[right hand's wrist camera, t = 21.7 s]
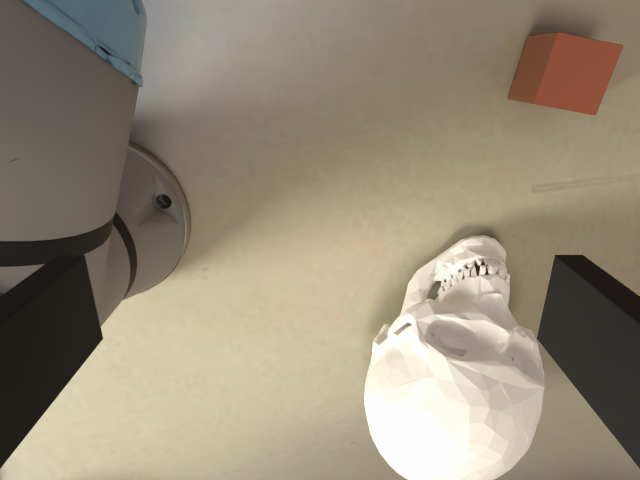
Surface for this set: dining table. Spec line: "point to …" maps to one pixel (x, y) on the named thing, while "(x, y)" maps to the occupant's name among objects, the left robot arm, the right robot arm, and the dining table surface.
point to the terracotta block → (564, 72)
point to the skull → (455, 372)
